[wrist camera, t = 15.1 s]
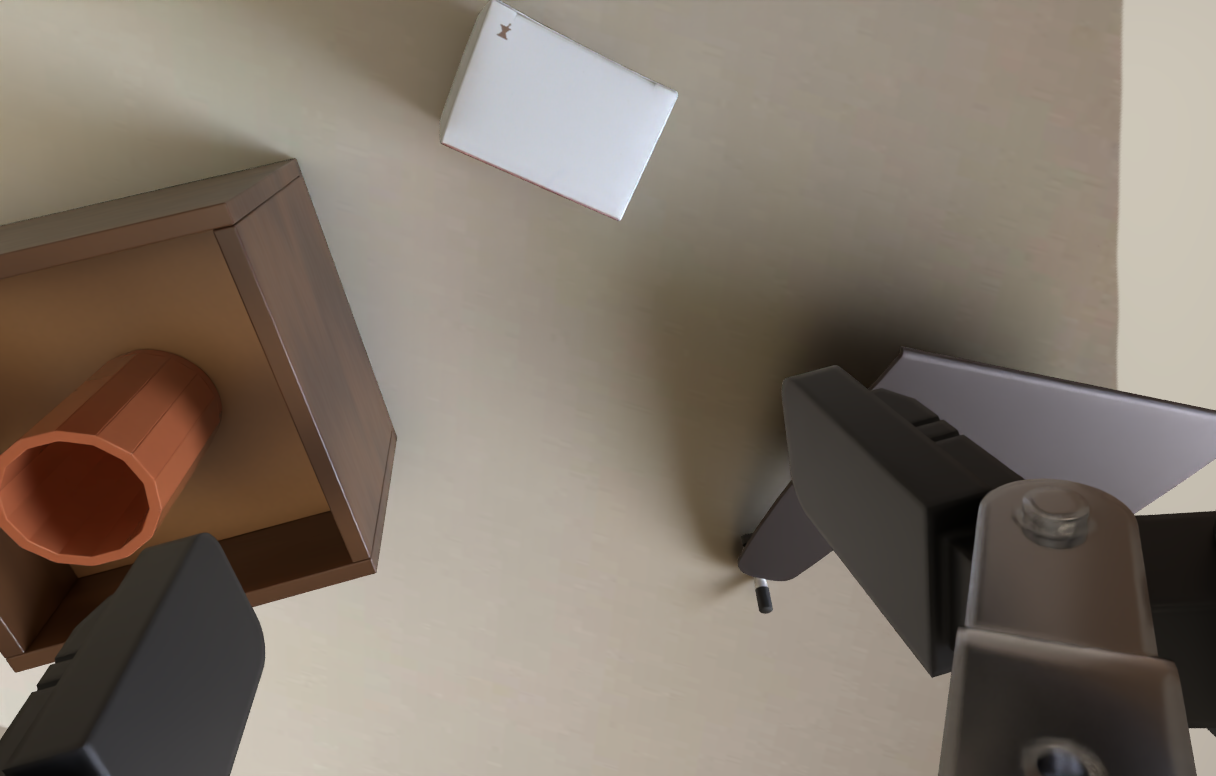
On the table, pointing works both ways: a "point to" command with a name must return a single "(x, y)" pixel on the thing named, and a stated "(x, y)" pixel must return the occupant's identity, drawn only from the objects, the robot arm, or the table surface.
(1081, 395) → the laptop tray
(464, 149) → the small box
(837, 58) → the table surface
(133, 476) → the cup
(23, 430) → the box
